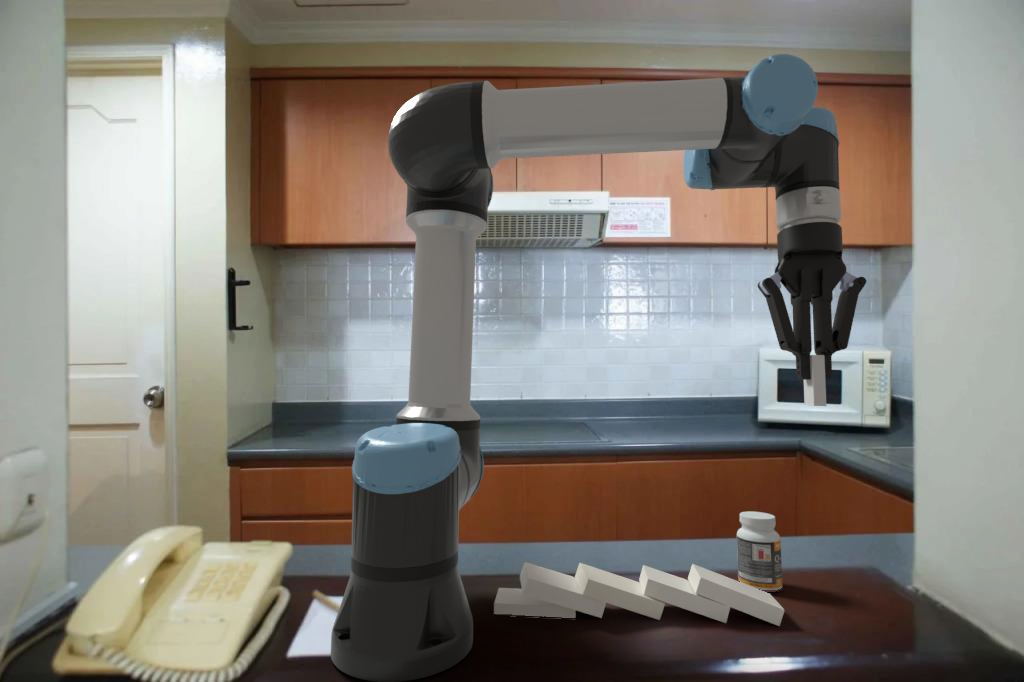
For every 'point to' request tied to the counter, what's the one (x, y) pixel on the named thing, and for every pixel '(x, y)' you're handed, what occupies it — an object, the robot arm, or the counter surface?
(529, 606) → the domino
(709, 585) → the domino
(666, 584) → the domino
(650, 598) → the domino
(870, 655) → the counter surface
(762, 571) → the pill bottle
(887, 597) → the counter surface
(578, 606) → the domino
